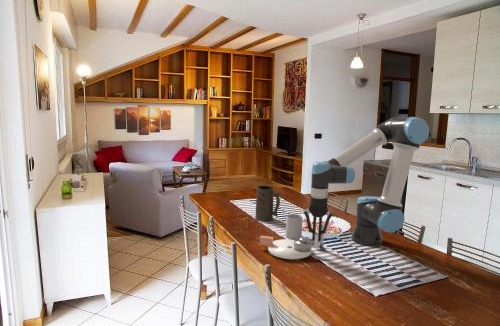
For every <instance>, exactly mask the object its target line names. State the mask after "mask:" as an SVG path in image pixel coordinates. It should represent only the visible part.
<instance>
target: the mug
mask: <svg viewBox="0 0 500 326" xmlns="http://www.w3.org/2000/svg"><path fill="white" fill-rule="evenodd" d="M303 220H304V219H303V216H302V215H301V214H296V213H289V214H287V215H286V217H285V235H284V236H285V237H286V238H287V239H290V240H295V239H299V238H300V237H303Z"/></svg>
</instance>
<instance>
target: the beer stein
mask: <svg viewBox="0 0 500 326" xmlns="http://www.w3.org/2000/svg"><path fill="white" fill-rule="evenodd" d="M279 195H280V194H279V192H278V191H276V192H274V188H273V187H272V186H270V185H259V186H257V188H256V198H255V199H256V200H255V201H256V204H255V220H257V221H259V222H270V221H273V220H274V217H273V216H275V217H278V214H279V213H278V210H279V208H280V205H281V201H280V196H279ZM274 197H275V199H276V203H275V207H274Z"/></svg>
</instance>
